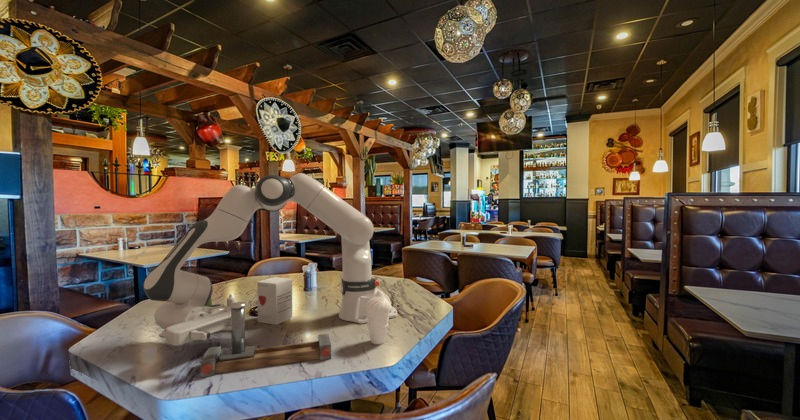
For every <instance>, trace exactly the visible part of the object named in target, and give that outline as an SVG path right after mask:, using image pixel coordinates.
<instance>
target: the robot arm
mask: <svg viewBox="0 0 800 420" xmlns="http://www.w3.org/2000/svg"><path fill="white" fill-rule="evenodd" d="M288 202H294V203H295V204H298V205H300V206H301V207H302V208H303V209H305V210H306V211H308V212H309V213H310V214H312V215H313V216H314V217H316V218H317V219H318V220H320V221H321V222H322V223H323V224H325V225H327V226H328V227H329V228H330V229H331V230H333V232H336V233H337V234H338V235H339V236H340V238H341V256H342V257H341V259H342V279H341V282H340V286H341V288H340V289H341V292H340V293H341V304H340V310H339V313H338V318H339V319H340V320H341V321H347V322H353V323H356V324H368V322H367V315H366V310H365V306H364V305H365V304H366V301H367V300H369V299H370V298H371V297H373V296H374V295H375V294H376V293H377V292H378V291H382V290H381V289H380V288H378V287H379V286H380V284H381V282H380V281H379V280H378V279H376V278H373V276H372V254H371V246H370V244H371V243H370V240H371V239H372V238H373V235H374V231H375V230H374V229H375V228H374V224H373V222H372V221H371V219H370V218H369V217H368V216H366V215H365V214H364V213H362V212H360V211H359V210H358V209H356V208H355V207H354V206H352V205H351V204H350V203H348V202H347V201H345V200H343V199H342V198H341V197H339V196H338V195H337V194H335V192H333V191H331V190H330V189H329V188H328V187H326V186H325V185H324V184H323V183H321V182H320V181H319V180H317V179H315V178H314V177H311V176H310V175H308V174H306V173H304V172H300V173H296V174H294V175H293V176H291V177H286V176H285V177H284V176H282V175H281V176H280V175H276V174H269V175H265V176H263V177H262V178H260V179H259V180H258V182H257V183H256V186H255V187H249V186H247V185H245V184H236V185H233V186H232V187H230V189H229V190H227V192H226V193H225V194H224V195H223V197H222V199H220V201H219V203H218V204H217V206H216V208H215V209H214V210H213V212H212V213H211V215H209V216H208V217H207V218H205V219H203V220H198V221H196V222H195V223H193V224H192V225H191V227H189V229H188V230H187V231H185V232H184V234H183V236H182V237H181V238H180V239H179V240H178V242H176V244H175V245H174V247H172V249H171V250H170V251H169V252H168V253H167V255H166V256H165V257H164V258H163V259H162V260H161V261H160V262H159V264H158V265H157V266H155V267H154V268H153V269H152V270H151V271H150V272H149V273H148V275H147V276H146V278H144V281H143V283H142V288H143V291H144V293H145V296H146V297H147V298H148V299H149V300H151V301H156V302H163V303H162V304H160V305H159V306H158V307H157V308H156V310H155V312H154V316H153V317H154V320H155V321H154V322H155V323H156V325H157V326H158V327H159V328H161V329H163V330H162V332H160V333H158V337H160V338H162V339H165V340H166V342H167V343H168V344H170V345H171V346H182V345H185V344H187V343H191V342H193V341H197V340H199V341H200V340H201V341H206V340H208V339H210V338H211V334H215V333H218V332H220V331H223V329H226V328H229V327H231V308H229V307H225V306H226V305H225V304H224V303H218V304H212V305H210V306H207V304H208V302H209V301H210V298H211V299H212V295H213V291H214V289H213V284H212V281H211V279H210V278H209V277H208V276H205V275H202V274H198V273H192V272H189V271H185V270H182V269H181V268H182V267H183V266H184V264H185V263H186V262H187V261H188V259H190V257H191V255H192V254H193V253H194V252H195V251H196V250H197V248H199V247H200V246H201V245H203V244H206V243H211V242H213V243H214V242H217V243H218V242H230V241H233V240H235V239H238V238H239V237H240V236H241V235H242V234H243V233H244V231H245V230H246V228H247V226H248V224H249V222H250V221H251V219H252V216H253V215H254V214H255V212H256V211H257V210H259V211H266V212H278V211H281V210H283V209H284V208H285V207H286V205H287V204H288ZM383 293H384V296H385V298H386V299H387V300H388V301H389V302H390V304H391V310H390V312H389V313H390V314H389V319H392V318H397V317H398V310H397V309H396V308H395V307H394V306H392V302H391V299H390V297H389V296H388V295H387V294H386V293H385V292H383Z"/></svg>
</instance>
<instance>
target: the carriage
mask: <svg viewBox="0 0 800 420" xmlns="http://www.w3.org/2000/svg"><path fill="white" fill-rule="evenodd" d="M245 307H247V302H246V301H245V302H244V301H235V303H232V304H230V305H229V308H231V328H232V330H231V348H228V349H227V348H225V349H223V350H222V351H221V353H222V354H221V356H220V362H222V361H230V360H237V359H245V358H253V357H255V354H256V349H257V347H256V345H251V346H246V323H245V322H246V320H245V319H246V315H245V313H246V312H245V309H246V308H245Z"/></svg>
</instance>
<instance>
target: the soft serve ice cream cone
mask: <svg viewBox="0 0 800 420" xmlns="http://www.w3.org/2000/svg"><path fill="white" fill-rule="evenodd" d="M384 293H385V292H384V291H382V290H381V291H378V292H377V293H376V294H375V295H374V296H373V297H371V298H370V299H369V300H367V301H366V304H365V305H364V306H365V310H366V315H367V323H366V324H367V325H366V326H367V328H368V333H369V337H370V342H371V344H372V345H382V344H385V342H386V337H387V332H388V327H389V319H390V318H389V314H390V313H389V312H390V310H391V306H392V303H391V304H390V302H389V301H388V300H387V299H386V298H385V296H384Z"/></svg>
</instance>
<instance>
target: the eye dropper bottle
mask: <svg viewBox="0 0 800 420" xmlns="http://www.w3.org/2000/svg"><path fill="white" fill-rule="evenodd" d="M235 302H236V299H235V297H233V294H232V293H230V294H229V296H228V298H226V305H225V307H229V305H230V304H232V303H235ZM222 331H224V332H230V331H232V328H231V327H229V328H226V329H223V330H222Z"/></svg>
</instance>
